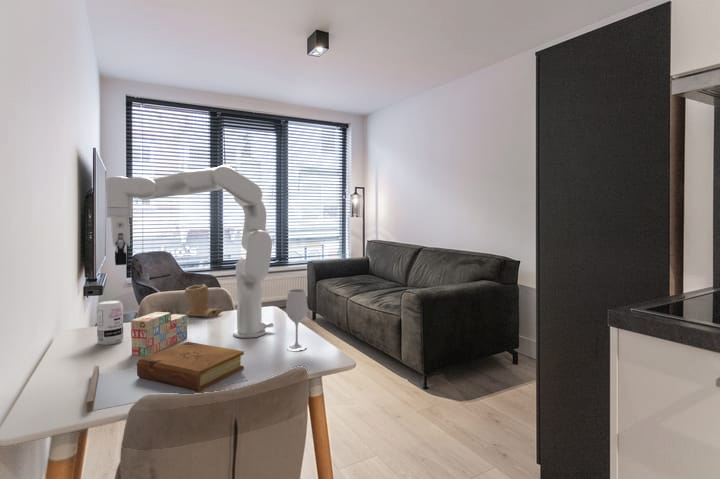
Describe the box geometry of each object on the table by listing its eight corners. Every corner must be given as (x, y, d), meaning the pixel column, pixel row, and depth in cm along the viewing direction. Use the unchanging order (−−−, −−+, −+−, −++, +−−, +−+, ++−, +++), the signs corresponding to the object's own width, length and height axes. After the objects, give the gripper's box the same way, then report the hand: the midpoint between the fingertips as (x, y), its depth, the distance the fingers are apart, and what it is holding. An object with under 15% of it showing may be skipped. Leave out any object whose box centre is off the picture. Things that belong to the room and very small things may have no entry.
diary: (137, 379, 115) (136, 359, 114) (187, 358, 132) (187, 341, 132) (198, 392, 106) (197, 371, 105) (243, 368, 123) (243, 350, 123)
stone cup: (179, 317, 185) (179, 285, 185) (197, 312, 197) (197, 282, 196) (206, 320, 181) (205, 288, 180) (222, 314, 192) (222, 284, 191)
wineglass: (299, 343, 148) (299, 288, 147) (311, 348, 143) (311, 290, 142) (281, 348, 143) (281, 290, 142) (294, 353, 138) (294, 293, 137)
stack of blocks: (173, 337, 155) (173, 306, 155) (187, 338, 154) (187, 307, 153) (131, 355, 134) (130, 319, 134) (147, 356, 133) (146, 320, 132)
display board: (227, 354, 137) (227, 346, 136) (247, 381, 114) (247, 371, 114) (94, 375, 117) (94, 366, 117) (87, 412, 95) (86, 401, 95)
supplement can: (105, 338, 152) (104, 300, 151) (127, 338, 152) (126, 300, 152) (92, 345, 144) (91, 304, 143) (116, 345, 144) (115, 304, 143)
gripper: (133, 213, 129) (134, 265, 130) (131, 213, 144) (132, 260, 145) (106, 213, 126) (107, 266, 126) (106, 213, 140) (107, 261, 141)
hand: (120, 263), depth 136 cm, fingers open, 9 cm apart
